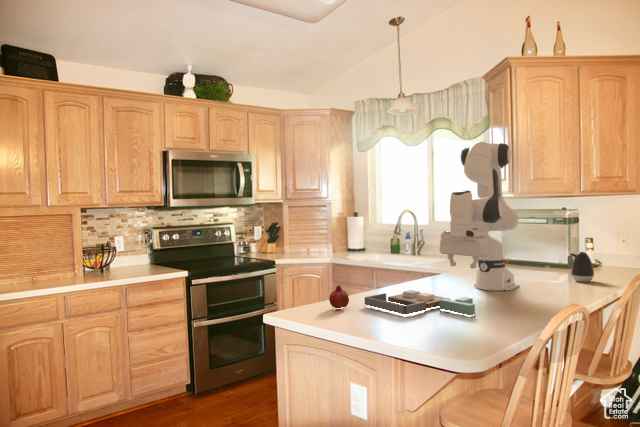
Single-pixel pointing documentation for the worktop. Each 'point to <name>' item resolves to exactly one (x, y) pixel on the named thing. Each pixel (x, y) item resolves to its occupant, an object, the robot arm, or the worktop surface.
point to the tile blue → (410, 293)
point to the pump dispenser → (582, 268)
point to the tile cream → (425, 296)
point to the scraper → (459, 305)
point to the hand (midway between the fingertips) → (463, 267)
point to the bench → (415, 300)
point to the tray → (393, 304)
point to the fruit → (339, 298)
